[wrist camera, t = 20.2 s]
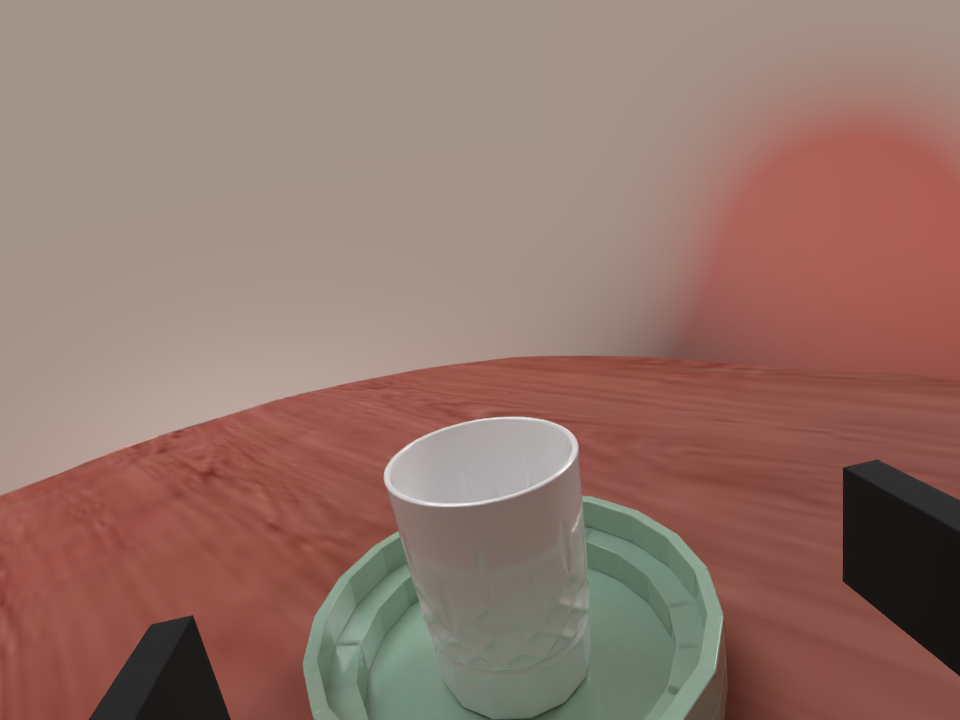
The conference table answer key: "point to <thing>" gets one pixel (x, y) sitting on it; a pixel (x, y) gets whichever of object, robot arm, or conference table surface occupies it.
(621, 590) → the basin
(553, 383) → the conference table surface
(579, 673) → the white cup
